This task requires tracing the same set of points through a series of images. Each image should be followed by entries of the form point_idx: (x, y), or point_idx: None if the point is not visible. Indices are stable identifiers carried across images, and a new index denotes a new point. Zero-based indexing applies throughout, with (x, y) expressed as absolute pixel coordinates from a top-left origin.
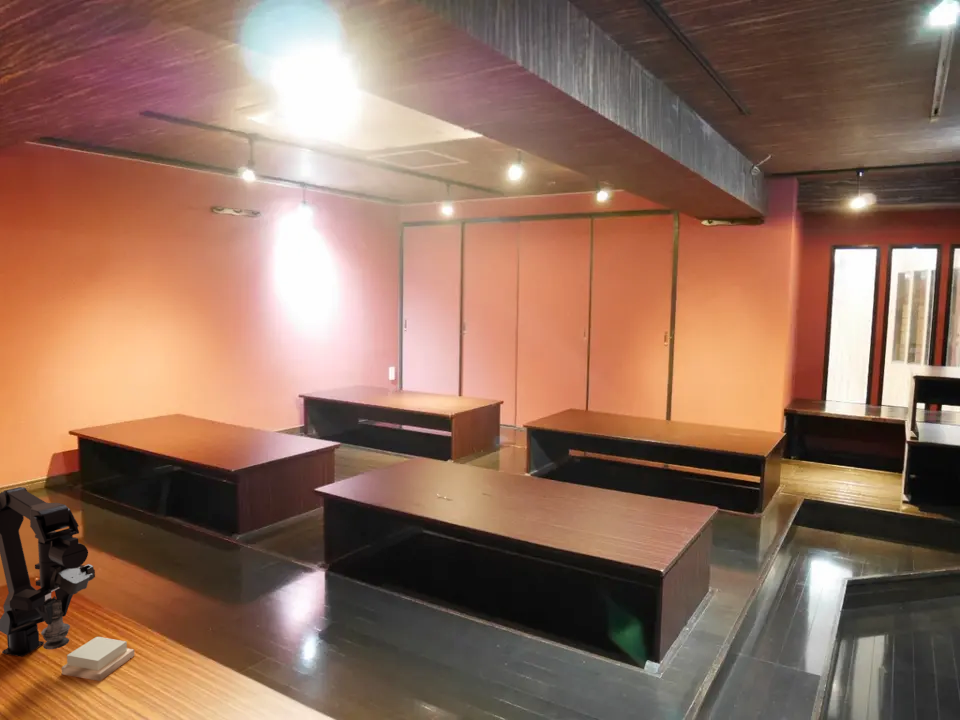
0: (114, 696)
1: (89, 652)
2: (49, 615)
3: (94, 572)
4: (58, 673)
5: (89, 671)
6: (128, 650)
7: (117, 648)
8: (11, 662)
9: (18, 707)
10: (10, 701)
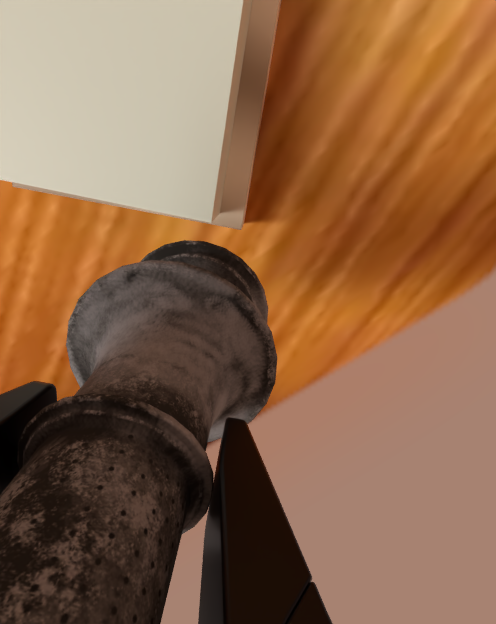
0: None
1: (160, 93)
2: (278, 528)
3: None
4: (240, 241)
5: (268, 28)
6: None
7: None
8: None
9: (491, 242)
10: (440, 301)
